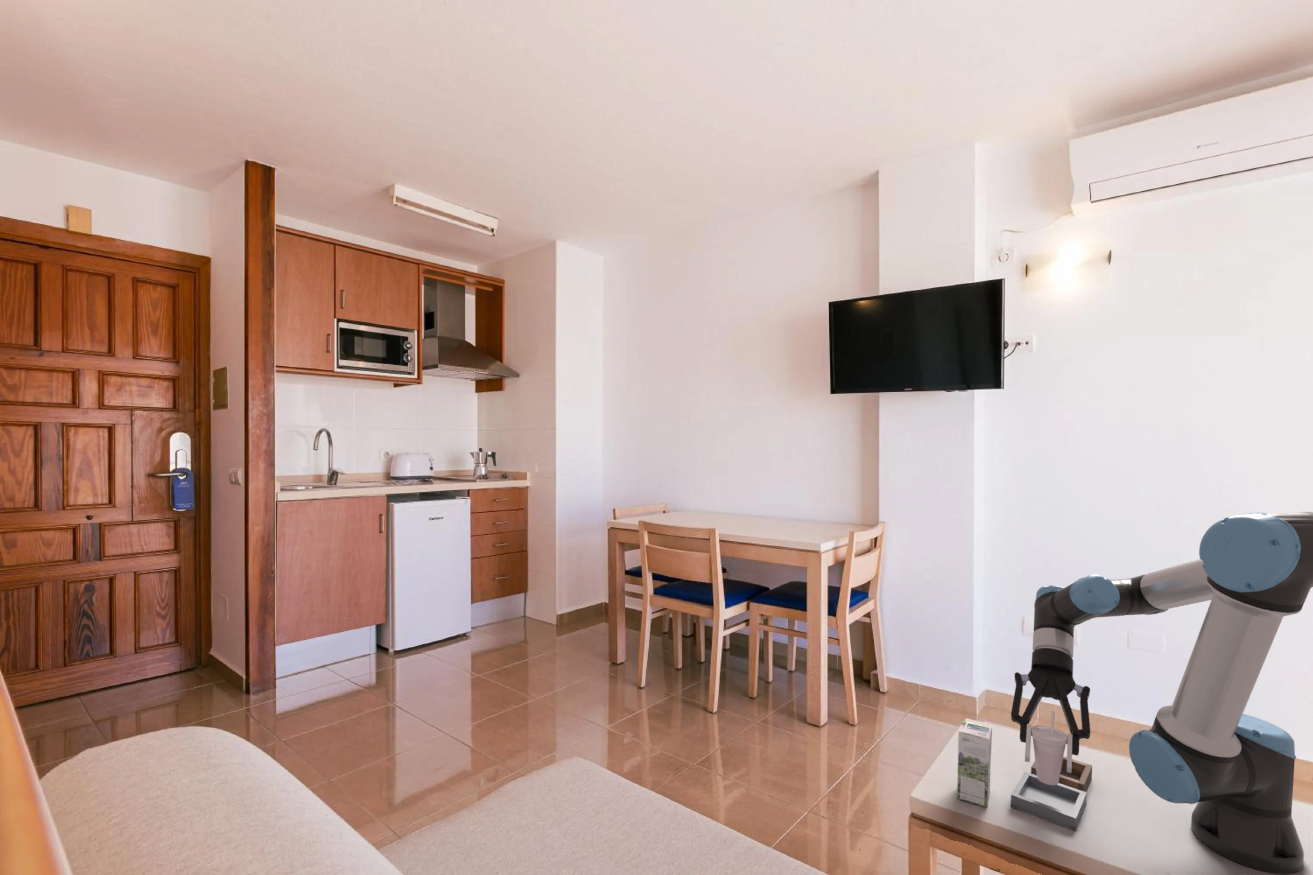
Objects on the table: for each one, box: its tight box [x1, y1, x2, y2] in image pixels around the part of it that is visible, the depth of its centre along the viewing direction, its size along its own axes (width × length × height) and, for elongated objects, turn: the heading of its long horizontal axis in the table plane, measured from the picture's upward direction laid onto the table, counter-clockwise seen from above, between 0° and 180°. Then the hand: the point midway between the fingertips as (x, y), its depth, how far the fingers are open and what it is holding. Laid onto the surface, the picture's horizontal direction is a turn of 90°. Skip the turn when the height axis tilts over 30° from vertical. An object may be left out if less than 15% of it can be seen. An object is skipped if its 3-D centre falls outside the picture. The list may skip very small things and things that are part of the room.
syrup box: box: [956, 719, 993, 808], centre depth 132 cm, size 6×6×14 cm
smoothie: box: [1031, 710, 1068, 785], centre depth 129 cm, size 6×6×14 cm
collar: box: [1030, 755, 1093, 792], centre depth 138 cm, size 10×10×3 cm
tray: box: [1010, 771, 1088, 832], centre depth 129 cm, size 11×11×2 cm
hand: (1047, 764), depth 126 cm, fingers closed on smoothie, 6 cm apart
